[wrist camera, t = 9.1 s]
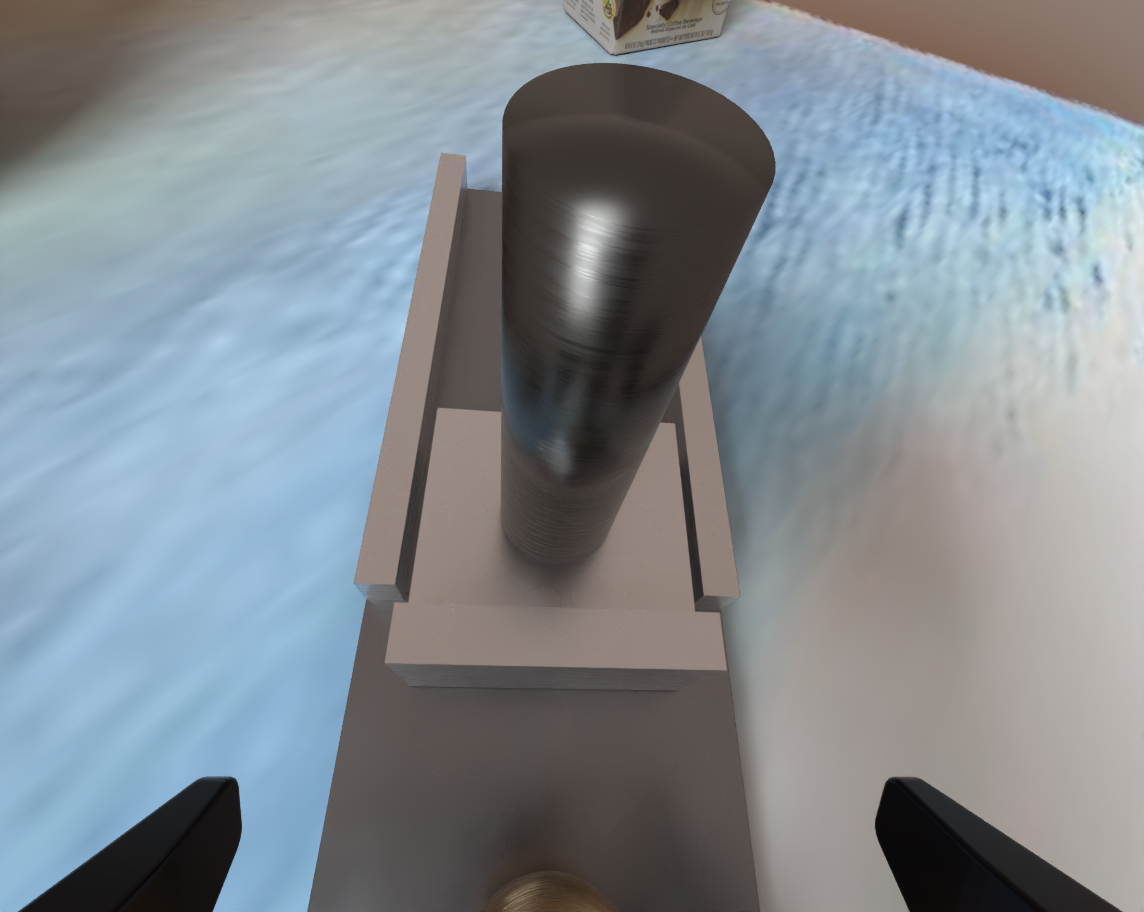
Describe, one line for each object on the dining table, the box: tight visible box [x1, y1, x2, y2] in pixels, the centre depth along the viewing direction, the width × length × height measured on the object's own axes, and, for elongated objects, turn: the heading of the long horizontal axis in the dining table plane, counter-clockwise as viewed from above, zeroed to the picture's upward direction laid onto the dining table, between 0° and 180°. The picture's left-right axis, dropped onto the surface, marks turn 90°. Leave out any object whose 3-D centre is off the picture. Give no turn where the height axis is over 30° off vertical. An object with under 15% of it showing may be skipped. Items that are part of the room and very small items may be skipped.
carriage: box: [385, 63, 775, 691], centre depth 11 cm, size 7×7×12 cm
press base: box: [307, 153, 760, 912], centre depth 16 cm, size 30×10×5 cm, turn 0°
